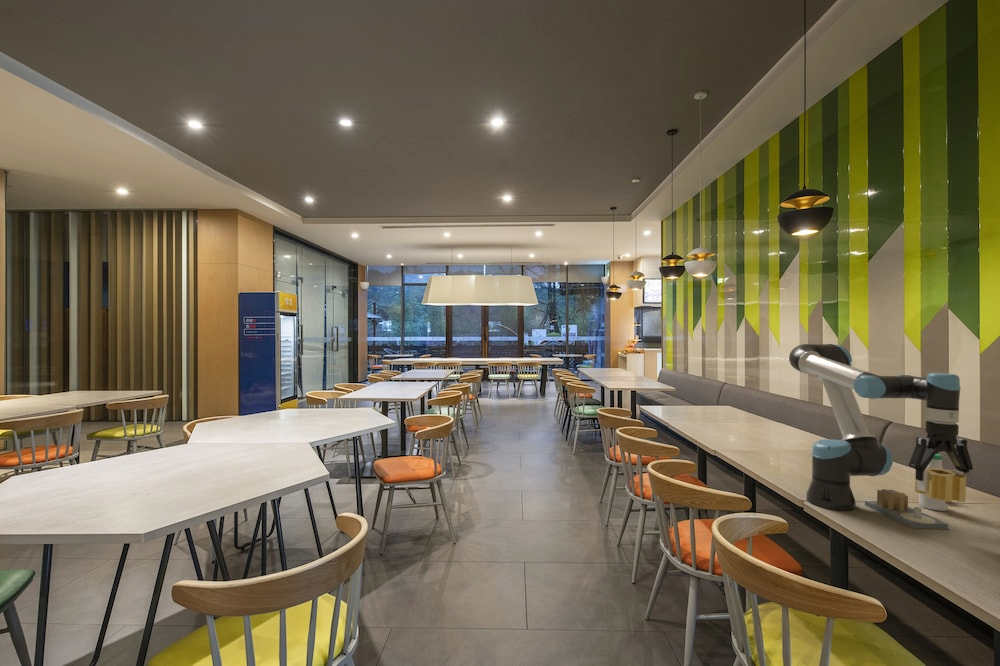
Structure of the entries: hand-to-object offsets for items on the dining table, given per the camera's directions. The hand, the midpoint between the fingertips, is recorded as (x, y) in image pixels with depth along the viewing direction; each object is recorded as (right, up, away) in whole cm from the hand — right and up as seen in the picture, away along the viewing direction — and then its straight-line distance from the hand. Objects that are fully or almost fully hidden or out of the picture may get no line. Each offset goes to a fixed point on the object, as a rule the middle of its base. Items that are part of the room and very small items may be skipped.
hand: (939, 490), depth 146 cm
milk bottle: (+21, -15, +24) cm, 35 cm away
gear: (0, -1, 0) cm, 1 cm away
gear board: (+2, -14, +16) cm, 21 cm away
